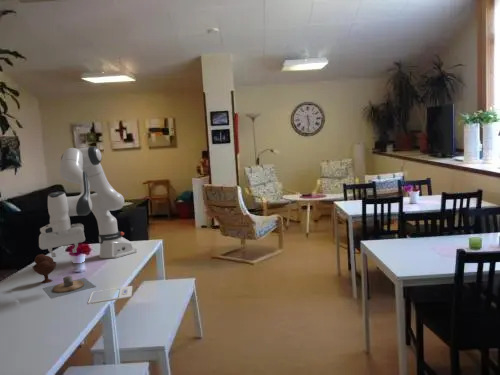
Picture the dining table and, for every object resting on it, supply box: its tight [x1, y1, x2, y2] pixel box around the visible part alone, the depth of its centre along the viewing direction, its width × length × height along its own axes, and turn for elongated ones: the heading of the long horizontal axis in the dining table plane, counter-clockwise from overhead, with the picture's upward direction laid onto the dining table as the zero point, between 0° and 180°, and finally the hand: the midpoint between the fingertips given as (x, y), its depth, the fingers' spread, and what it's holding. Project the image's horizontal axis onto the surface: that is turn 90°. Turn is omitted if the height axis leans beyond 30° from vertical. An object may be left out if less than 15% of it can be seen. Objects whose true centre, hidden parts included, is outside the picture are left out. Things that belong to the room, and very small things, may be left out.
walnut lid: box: [53, 275, 84, 293], centre depth 210 cm, size 14×14×5 cm
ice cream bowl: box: [32, 253, 57, 284], centre depth 222 cm, size 11×11×15 cm
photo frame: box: [87, 285, 133, 305], centre depth 196 cm, size 15×1×18 cm
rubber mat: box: [42, 277, 97, 299], centre depth 210 cm, size 20×20×1 cm
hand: (64, 254), depth 208 cm, fingers open, 8 cm apart
